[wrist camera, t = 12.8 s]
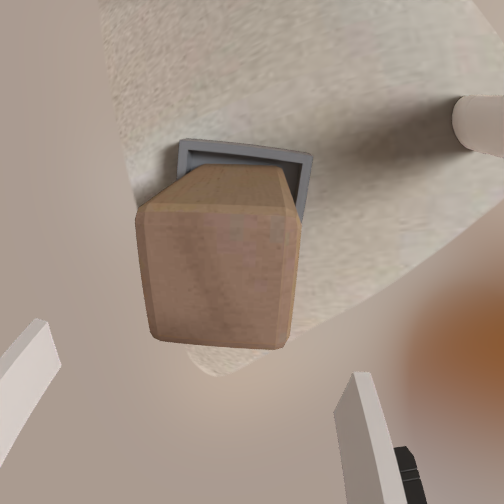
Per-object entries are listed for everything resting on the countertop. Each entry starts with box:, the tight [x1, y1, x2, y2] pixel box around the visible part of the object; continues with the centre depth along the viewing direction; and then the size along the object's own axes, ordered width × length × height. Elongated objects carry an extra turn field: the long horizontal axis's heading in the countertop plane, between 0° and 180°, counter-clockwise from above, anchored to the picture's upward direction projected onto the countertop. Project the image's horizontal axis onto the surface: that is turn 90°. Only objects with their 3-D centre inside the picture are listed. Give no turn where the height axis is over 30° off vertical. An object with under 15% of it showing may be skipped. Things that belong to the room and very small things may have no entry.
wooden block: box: [135, 164, 302, 350], centre depth 28 cm, size 10×10×20 cm
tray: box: [177, 138, 313, 224], centre depth 36 cm, size 14×14×4 cm
